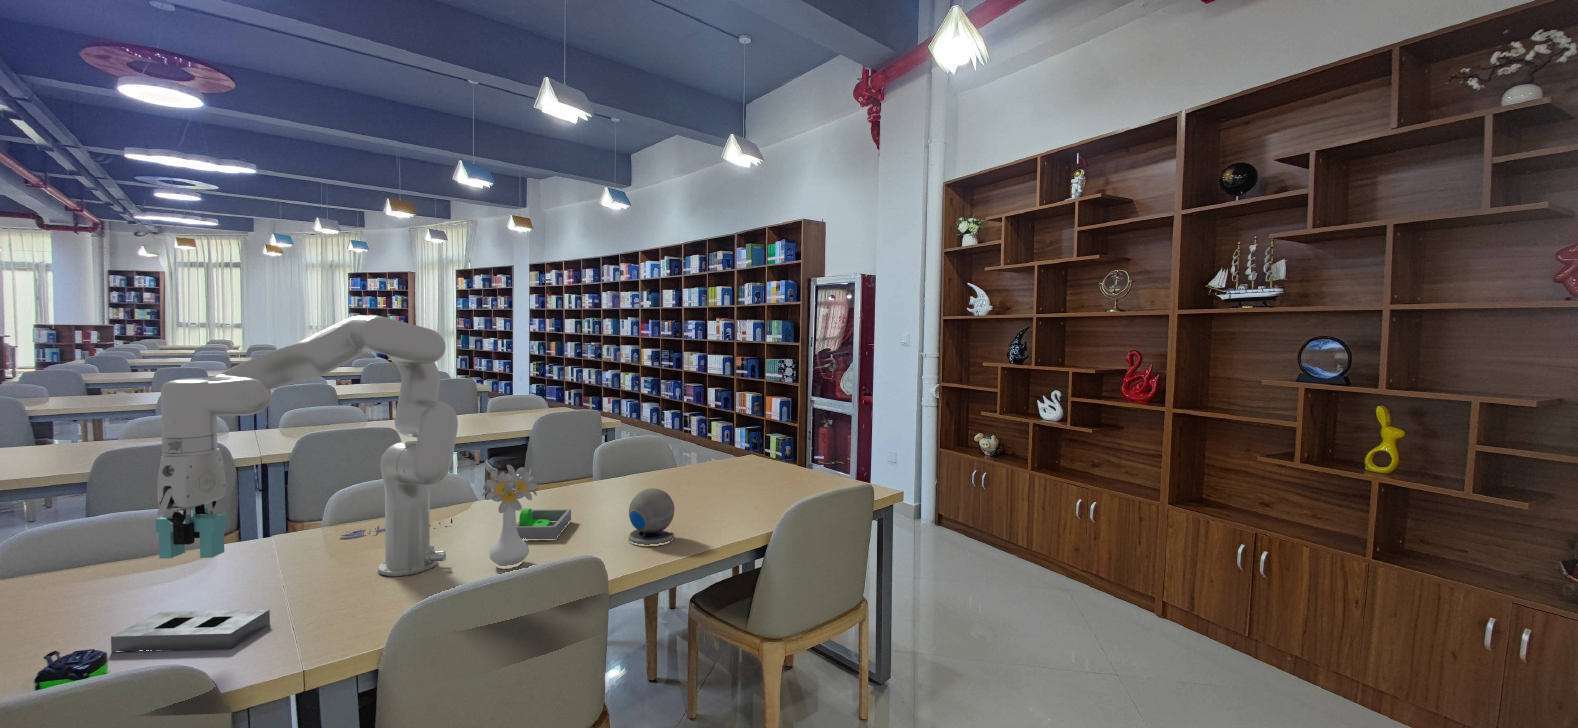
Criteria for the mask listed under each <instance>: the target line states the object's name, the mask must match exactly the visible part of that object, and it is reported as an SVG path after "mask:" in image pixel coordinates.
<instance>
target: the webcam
mask: <svg viewBox="0 0 1578 728" xmlns="http://www.w3.org/2000/svg"><path fill="white" fill-rule="evenodd" d="M674 516H675V504H674V501H673V498H671V496H670V494H669V493H667V492H666V491H664V490H662V489H659V488H655V487H654V488H653V487H651V488H645V489H643V490H641V491H640V492H638V493H637V494H636V495H635V496H634V497H633V498H632V500H631V501H630V503H629V506H628V517H629V520H630V521H629V522H630V523H631V525H632V526H633V527H634V529H635V530H633V531H631V532H630V533H629V534H628V542H629V541H631V542H633V543H637V544H644V545H650V544H659V543H665V542H668V541H671V540H672V539H673V538H674V539H675V533H674V532H672V531H671V532H669V531H668V530H666V529H667V528H668V527H669V526H670V524H671V523H672V522H673V519H674Z"/></svg>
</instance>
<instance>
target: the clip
mask: <svg viewBox="0 0 1578 728" xmlns="http://www.w3.org/2000/svg"><path fill="white" fill-rule="evenodd" d="M181 514H182V515H183V513H181ZM227 516H228V515H227V513H213V514H193V513H191V522H190V523H194V532H200V538H199V558H201V559H203V558H204V559H209V558H210V559H212V558H215V557H217V556H219V555H221V554H224V553H225V529H226V528H227V526H228V525H227V522H228V521H227V520H228V519H227V518H228V517H227ZM155 533H158V553H159V556H158V557H159V559H174V558H175V557H178V556H180V555H182V554H185V553H186V547H185V546H186V545H175V544H174V543H173V524H170V521H169V520H168V519H166V518H164V517H160V516H159V518H155Z"/></svg>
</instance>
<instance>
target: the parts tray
mask: <svg viewBox="0 0 1578 728" xmlns="http://www.w3.org/2000/svg"><path fill="white" fill-rule="evenodd" d="M531 510H532V520H539V519H544V520H549V521H557V522H556V523H553V525H550V526H519V521H517V522H516V528H517V532H518V534H519V536H520V538H521V539H523V538H524V539H525V538H526V539H556V538H557V536H558V535H559V534H560V533H561V531H562V530H563V529H564V528H565V526H566V525H567V524H568V522H569V521H570V520H571V521H572V509H571V508H570V509H569V508H568V509H567V508H566V509H564V508H563V509H560V508H559V509H558V508H557V509H556V508H555V509H531ZM557 539H558V538H557Z"/></svg>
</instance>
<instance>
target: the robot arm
mask: <svg viewBox="0 0 1578 728" xmlns="http://www.w3.org/2000/svg"><path fill="white" fill-rule="evenodd" d="M446 347H447V346H446V341H445V339H444V338H443V336H442V335H441V334H440V333H439V332H437V331H436V330H434V329H431V328H428V327H423V326H420V325H415V324H413V323H412V324H411V323H408V322H404V321H400V320H397V319H394V318H390V317H387V316H380V315H356V316H350V317H348V318H345V319H343V320H341V321H339V322H336V323H334V324H332V325H330V326H328V327H326V328H325V329H322V330H321V331H318V332H315V333H314V334H312V335H309V336H307V337H306V338H304V339H301V340H298V341H297V342H295V343H291V344H290V345H286V346H283V347H280V348H277V349H276V350H273V351H269V352H267V353H264V354H261V355H259V356H255V357H253V358H251V359H248V360H246V361H244V362H242V363H238V364H237V365H235V366H232V367H230V368H229V369H226V370H224V371H222V372H220V373H218V374H217V375H214V376H212V377H211V378H209V379H177V380H176V379H175V380H169V381H166V382H164V383H163V384H162V386H161V389H160V400H161V401H160V403H161V404H160V410H161V411H160V412H161V415H160V416H161V419H160V420H161V451H162V453H161V454H162V455H161V457H160V462H159V467H158V468H159V469H158V475H157V488H156V490H157V491H156V492H157V493H156V494H157V505H158V506H159V508H158V510H157V513H156V516H157V517H159V518H160V517H164V518H166V519H168V520H169V521H170V524H173V543H174V544H175V545H185V546H186V545H193V544H194V543H195V539H200V532H194V523H190V522H191V514H214V508H215V506H217V505H216V504H217V503H218V502H219V501H220V500H221V499H222V498H223V497H224V496H225V495H226V494H227V482H226V481H227V479H226V472H225V464H224V460H223V456H222V452H221V449H220V447H219V448H218V421H217V419H218V418H217V417H218V416H243V417H244V416H251V415H252V416H253V415H255V414H258V413H261V412H262V411H264V410H265V409H266V408H268V407H269V405H270V404H271V403H272V400H273V392H272V390H273V389H275V388H278V387H280V386H281V387H282V386H284V385H288V384H291V383H297V382H298V383H299V382H302V381H309V380H313V379H317V378H320V377H323V376H325V375H326V374H328V373H331V372H332V371H334V370H336V369H338V368H340V367H343V366H344V365H345V364H347V363H349V362H351V361H352V360H355V359H356V358H358V357H360V356H362V355H364V354H366V353H373V354H381V355H384V356H385V355H386V356H387V357H388V358H389V360H391V361H392V362H393V363H394V365H395V366H396V368H397V369H398V372H399V375H400V387H399V388H400V389H399V394H398V395H399V396H398V398H397V399H398V401H397V406H396V411H395V416H394V417H395V418H394V427H395V429H396V431H397V432H398V433H399V434H401V435H403V436H406V437H410V438H411V437H412V438H416V442H410V441H401V442H397V443H395V444H394V443H393V445H392V444H391V446H389V447H388V448H386V450H385V451H384V452H383V454H382V456H381V459H380V473H381V478H382V482H383V488H384V503H385V504H384V506H385V507H384V528H385V532H384V536H385V539H384V543H385V548H384V549H385V561H383V562H381V563H380V564H379V565H378V566H377V571H378V574H380V575H382V576H385V575H386V576H388V577H401V576H402V577H404V576H410V575H409V574H411V575H415V574H414V573H416V574H419V573H418V572H420V573H423V572H425V570H426V571H427V570H430V569H432V568H433V566H434V565H435V564H436V565H437V563H438V562H445V561H446V560H447V554H446V551H445V550H439V551H436V550H435V545H432V544H431V543H430V542H431V535H430V533H431V531H430V530H431V528H430V527H431V524H430V523H431V521H430V519H431V517H430V514H431V513H430V512H431V511H430V509H431V508H430V499H431V497H430V490H429V489H430V488H429V486H433V485H437V484H438V483H441V482H442V481H443V480H444V479H445V478H446V477H447V475H448V474H449V472H450V469H451V466H452V464H453V463H452V462H453V457H454V452H455V447H456V440H457V434H458V428H459V420H458V419H459V418H458V416H457V413H456V411H455V409H454V408H453V407H452V406H451V405H450V404H448V403H445V402H443V401H439V393H440V386H441V376H440V371H439V369H438V366H437V364H436V362H438V361H439V360H441V358H442V357H443V356H444V355H445V352H446V349H447V348H446ZM180 511H181V512H180ZM182 514H183V515H182ZM436 565H435V566H436ZM435 566H434V567H435ZM422 571H423V572H422ZM403 575H404V576H403Z"/></svg>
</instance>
